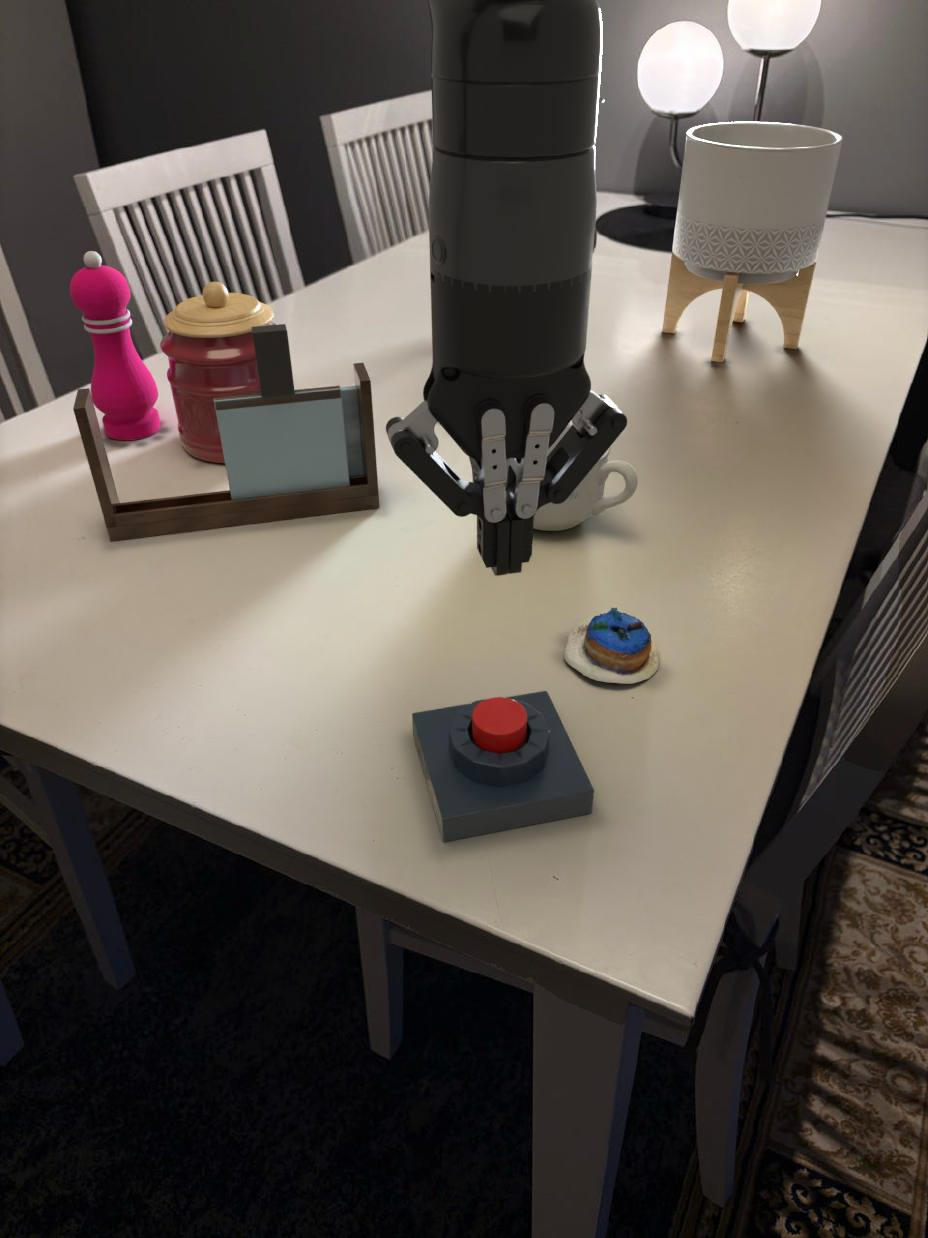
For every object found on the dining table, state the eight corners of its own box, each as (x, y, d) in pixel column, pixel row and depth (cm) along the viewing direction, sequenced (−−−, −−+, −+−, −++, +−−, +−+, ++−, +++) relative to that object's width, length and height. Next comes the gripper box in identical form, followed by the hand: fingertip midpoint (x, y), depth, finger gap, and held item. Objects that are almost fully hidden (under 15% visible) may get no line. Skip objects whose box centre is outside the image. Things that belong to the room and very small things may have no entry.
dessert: (679, 675, 69) (641, 626, 66) (608, 722, 71) (567, 677, 68) (646, 619, 76) (609, 573, 73) (581, 664, 77) (543, 620, 74)
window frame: (110, 541, 87) (72, 408, 79) (113, 518, 90) (77, 389, 82) (379, 507, 92) (370, 379, 83) (372, 487, 95) (363, 362, 87)
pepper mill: (89, 440, 104) (40, 259, 92) (119, 414, 110) (75, 240, 98) (149, 444, 103) (106, 262, 91) (175, 418, 109) (138, 243, 97)
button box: (443, 842, 58) (441, 800, 55) (412, 735, 65) (410, 693, 63) (592, 813, 60) (597, 770, 57) (545, 712, 67) (548, 671, 65)
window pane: (233, 509, 88) (202, 336, 78) (232, 501, 90) (201, 330, 79) (351, 495, 90) (335, 325, 80) (348, 487, 92) (333, 319, 81)
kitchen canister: (315, 448, 102) (296, 288, 92) (202, 476, 97) (169, 310, 86) (272, 407, 111) (251, 257, 101) (167, 431, 106) (133, 276, 95)
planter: (647, 352, 125) (672, 142, 110) (676, 310, 139) (702, 118, 124) (789, 371, 119) (836, 152, 104) (804, 325, 133) (848, 126, 118)
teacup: (472, 516, 90) (472, 442, 85) (541, 478, 96) (545, 407, 92) (585, 569, 82) (592, 491, 78) (652, 524, 89) (663, 449, 84)
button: (479, 758, 59) (479, 738, 58) (466, 721, 61) (466, 701, 60) (533, 748, 59) (534, 729, 58) (517, 712, 62) (518, 693, 61)
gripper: (616, 224, 46) (589, 520, 56) (356, 242, 44) (379, 548, 54) (678, 266, 40) (636, 587, 51) (382, 289, 38) (402, 622, 48)
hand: (503, 566), depth 52 cm, fingers closed
